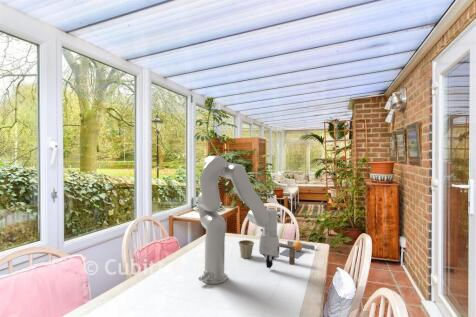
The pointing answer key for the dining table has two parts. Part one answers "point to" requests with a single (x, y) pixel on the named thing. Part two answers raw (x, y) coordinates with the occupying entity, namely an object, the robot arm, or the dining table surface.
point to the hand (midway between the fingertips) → (269, 267)
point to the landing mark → (286, 253)
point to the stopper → (302, 245)
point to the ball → (297, 246)
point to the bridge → (291, 252)
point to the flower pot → (246, 248)
